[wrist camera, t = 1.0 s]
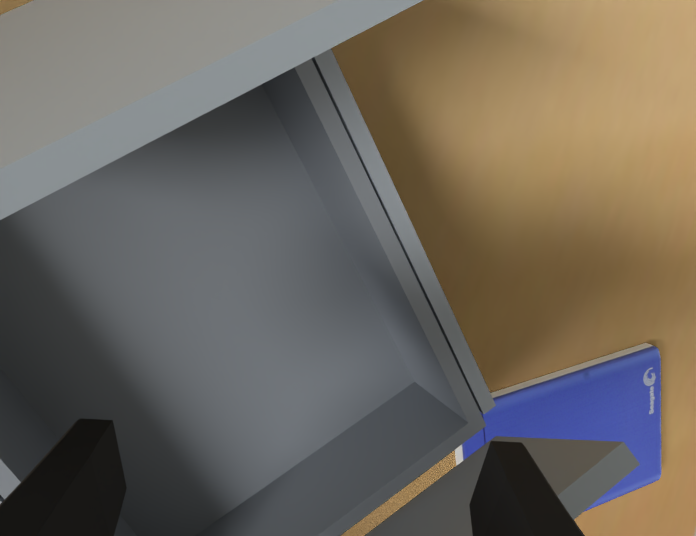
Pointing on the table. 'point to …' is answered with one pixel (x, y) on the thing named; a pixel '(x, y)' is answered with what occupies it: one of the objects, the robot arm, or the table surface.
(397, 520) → the flap
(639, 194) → the table surface
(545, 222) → the table surface
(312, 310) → the carton
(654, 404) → the hard drive
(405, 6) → the flap
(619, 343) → the table surface
